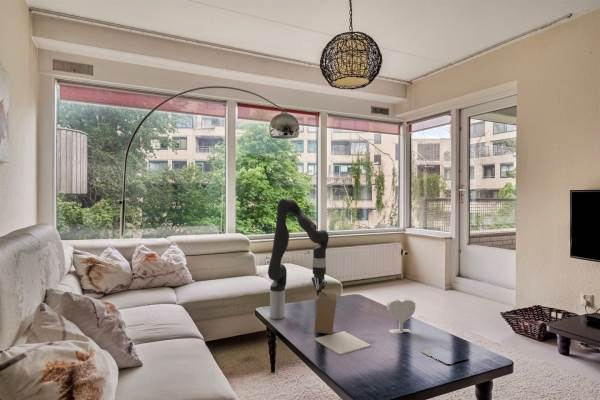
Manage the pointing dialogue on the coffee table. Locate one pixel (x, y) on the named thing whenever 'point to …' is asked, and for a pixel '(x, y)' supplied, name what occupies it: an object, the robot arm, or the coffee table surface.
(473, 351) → the coffee table surface
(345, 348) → the mat
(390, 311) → the heart sculpture
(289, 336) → the coffee table surface
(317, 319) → the block
